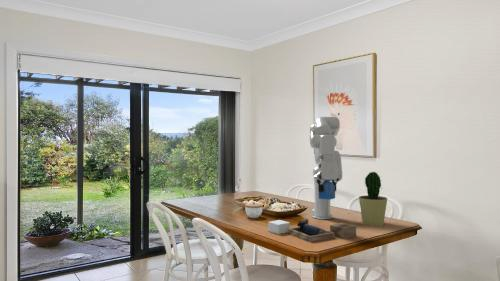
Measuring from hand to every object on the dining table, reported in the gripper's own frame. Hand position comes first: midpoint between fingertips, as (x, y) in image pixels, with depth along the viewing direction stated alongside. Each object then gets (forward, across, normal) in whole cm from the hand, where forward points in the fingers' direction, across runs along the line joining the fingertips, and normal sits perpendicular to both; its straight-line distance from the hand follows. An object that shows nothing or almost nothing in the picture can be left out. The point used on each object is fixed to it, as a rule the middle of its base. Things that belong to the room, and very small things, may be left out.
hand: (327, 191), depth 193 cm
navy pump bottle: (+21, -12, -2) cm, 25 cm away
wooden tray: (+21, -14, -4) cm, 25 cm away
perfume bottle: (+4, 0, 0) cm, 4 cm away
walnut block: (+21, 0, -11) cm, 24 cm away
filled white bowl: (+20, -18, +48) cm, 55 cm away
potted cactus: (+20, +33, 0) cm, 39 cm away
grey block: (+21, -23, +11) cm, 33 cm away
